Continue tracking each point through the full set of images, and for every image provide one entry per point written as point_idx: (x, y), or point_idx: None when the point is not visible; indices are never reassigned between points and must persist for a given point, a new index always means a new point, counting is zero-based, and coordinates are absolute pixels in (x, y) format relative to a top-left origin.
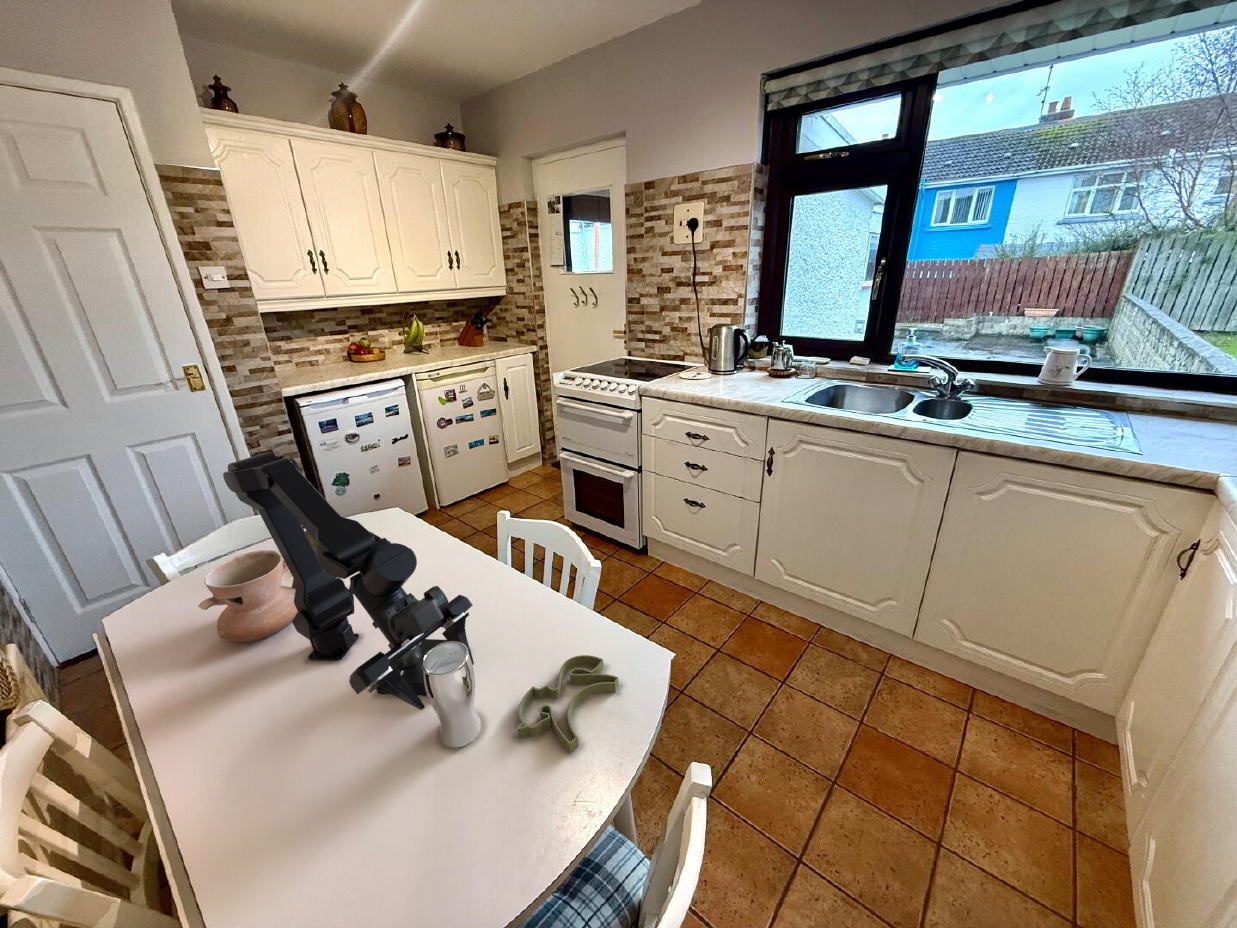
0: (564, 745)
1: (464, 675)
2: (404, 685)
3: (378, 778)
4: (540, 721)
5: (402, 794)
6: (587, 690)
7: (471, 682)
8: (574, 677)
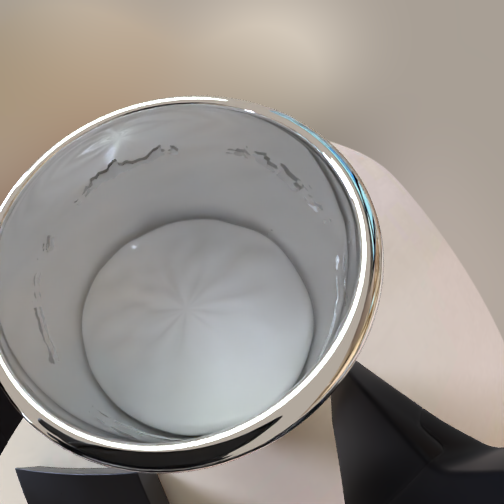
0: None
1: (200, 157)
2: (426, 432)
3: None
4: None
5: (384, 375)
6: None
7: (178, 212)
8: None
